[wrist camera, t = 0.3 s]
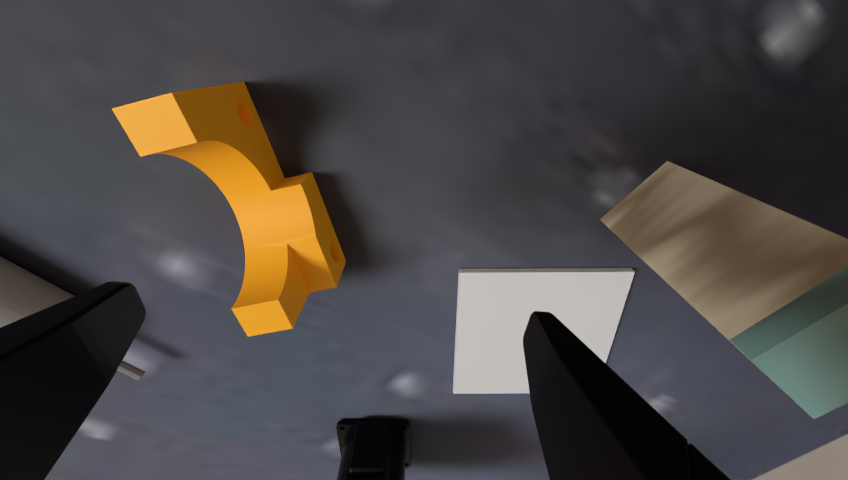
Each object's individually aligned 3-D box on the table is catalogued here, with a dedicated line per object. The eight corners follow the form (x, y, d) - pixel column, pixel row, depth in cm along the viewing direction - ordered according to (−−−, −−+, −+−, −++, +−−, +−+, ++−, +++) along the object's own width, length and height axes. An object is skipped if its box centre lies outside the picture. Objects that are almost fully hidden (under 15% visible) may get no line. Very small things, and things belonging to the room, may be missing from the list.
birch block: (644, 261, 25) (814, 419, 14) (599, 219, 23) (751, 360, 12) (711, 210, 23) (963, 345, 12) (667, 160, 21) (910, 266, 11)
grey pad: (593, 387, 30) (596, 392, 30) (452, 388, 30) (453, 393, 30) (631, 268, 25) (634, 271, 24) (458, 268, 25) (459, 272, 24)
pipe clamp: (346, 260, 25) (323, 322, 19) (287, 272, 25) (248, 336, 19) (275, 73, 19) (213, 81, 14) (202, 92, 20) (111, 108, 14)
